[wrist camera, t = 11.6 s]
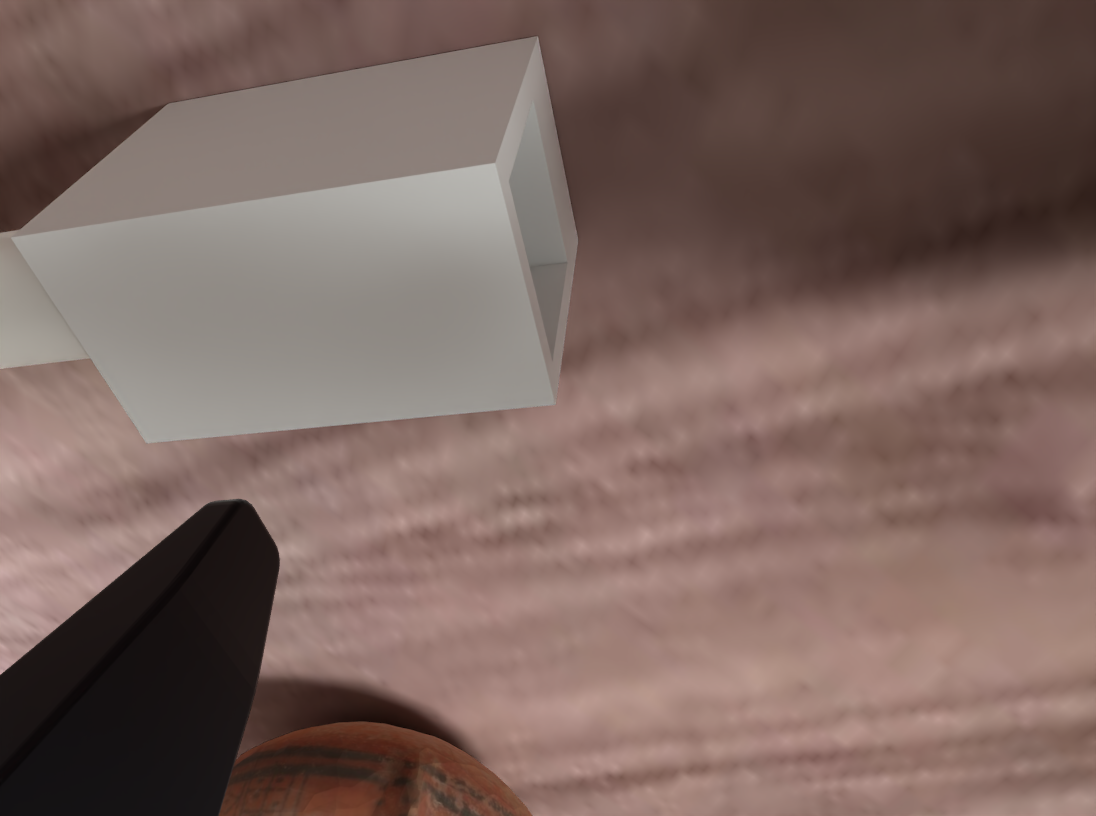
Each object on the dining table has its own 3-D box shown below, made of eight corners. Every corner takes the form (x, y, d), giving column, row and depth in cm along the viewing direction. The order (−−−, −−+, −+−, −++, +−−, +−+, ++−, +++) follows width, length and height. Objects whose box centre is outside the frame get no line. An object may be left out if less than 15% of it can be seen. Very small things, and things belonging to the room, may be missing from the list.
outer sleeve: (537, 36, 18) (495, 163, 13) (578, 240, 22) (555, 404, 17) (168, 103, 20) (10, 237, 15) (254, 283, 23) (146, 443, 18)
